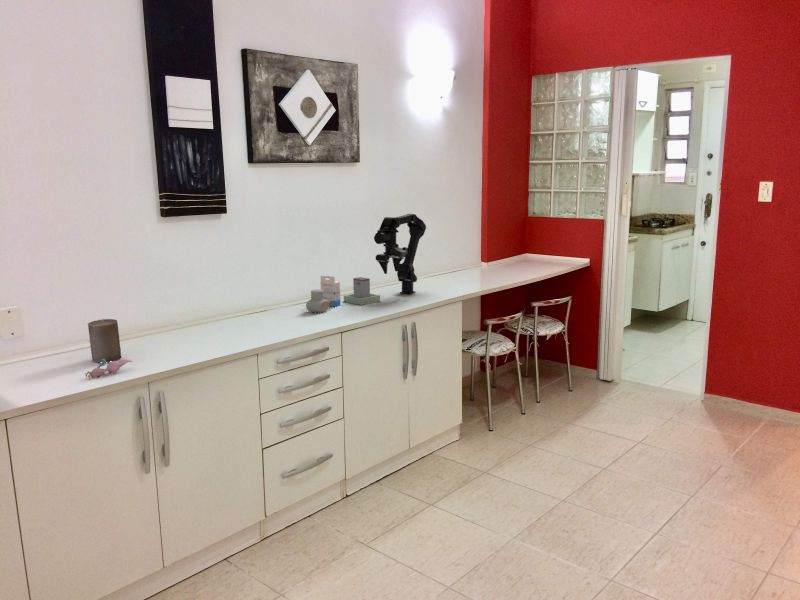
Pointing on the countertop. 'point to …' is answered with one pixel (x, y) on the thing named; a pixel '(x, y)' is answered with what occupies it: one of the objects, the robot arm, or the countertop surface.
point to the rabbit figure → (110, 368)
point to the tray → (361, 299)
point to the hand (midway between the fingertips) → (391, 272)
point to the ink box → (331, 290)
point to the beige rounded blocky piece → (317, 302)
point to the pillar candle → (104, 340)
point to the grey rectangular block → (361, 287)
